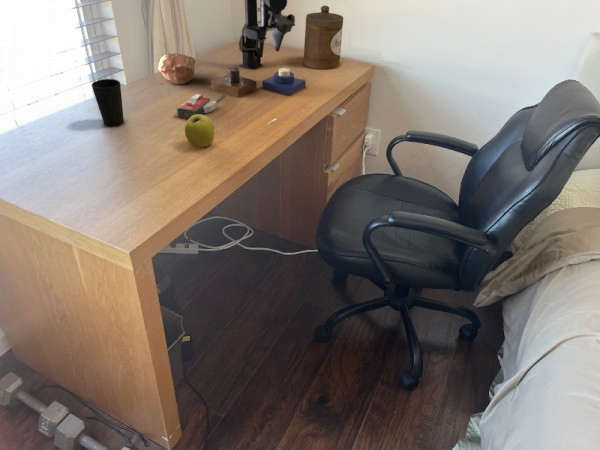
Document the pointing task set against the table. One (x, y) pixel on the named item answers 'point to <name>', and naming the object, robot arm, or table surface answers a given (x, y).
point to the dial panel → (234, 86)
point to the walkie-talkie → (197, 106)
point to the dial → (233, 75)
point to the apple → (199, 130)
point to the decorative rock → (177, 67)
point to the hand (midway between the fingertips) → (269, 54)
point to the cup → (109, 101)
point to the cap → (284, 72)
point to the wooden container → (323, 39)
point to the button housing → (284, 84)
